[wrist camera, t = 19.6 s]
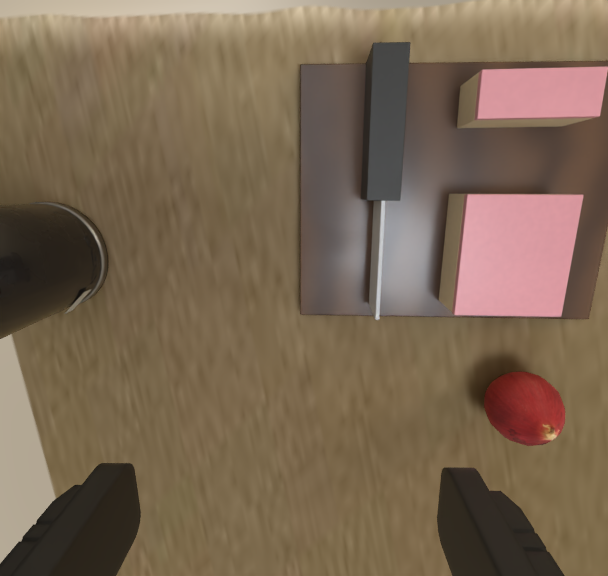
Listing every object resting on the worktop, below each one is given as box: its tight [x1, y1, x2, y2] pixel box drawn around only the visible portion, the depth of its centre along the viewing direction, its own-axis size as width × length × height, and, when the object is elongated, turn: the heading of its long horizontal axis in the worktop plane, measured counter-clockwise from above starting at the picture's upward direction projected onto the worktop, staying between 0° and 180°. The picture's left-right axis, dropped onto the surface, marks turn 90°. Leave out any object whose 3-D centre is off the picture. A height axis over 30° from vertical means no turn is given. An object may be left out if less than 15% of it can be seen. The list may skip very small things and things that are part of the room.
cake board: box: [300, 61, 608, 319], centre depth 31 cm, size 25×20×1 cm
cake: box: [439, 194, 584, 317], centre depth 29 cm, size 8×9×4 cm
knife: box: [361, 42, 410, 320], centre depth 29 cm, size 19×2×4 cm, turn 0°
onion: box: [484, 372, 565, 446], centre depth 32 cm, size 6×6×8 cm
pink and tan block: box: [457, 66, 608, 128], centre depth 27 cm, size 8×3×4 cm, turn 91°
